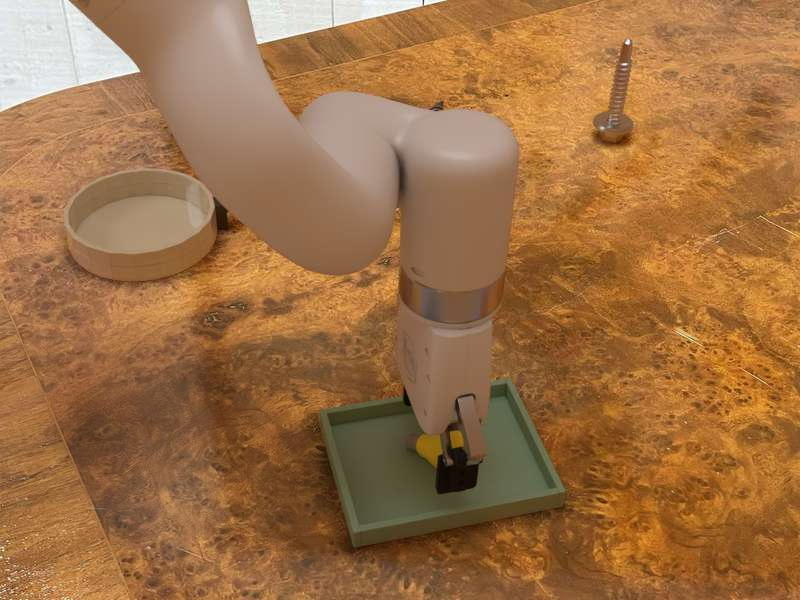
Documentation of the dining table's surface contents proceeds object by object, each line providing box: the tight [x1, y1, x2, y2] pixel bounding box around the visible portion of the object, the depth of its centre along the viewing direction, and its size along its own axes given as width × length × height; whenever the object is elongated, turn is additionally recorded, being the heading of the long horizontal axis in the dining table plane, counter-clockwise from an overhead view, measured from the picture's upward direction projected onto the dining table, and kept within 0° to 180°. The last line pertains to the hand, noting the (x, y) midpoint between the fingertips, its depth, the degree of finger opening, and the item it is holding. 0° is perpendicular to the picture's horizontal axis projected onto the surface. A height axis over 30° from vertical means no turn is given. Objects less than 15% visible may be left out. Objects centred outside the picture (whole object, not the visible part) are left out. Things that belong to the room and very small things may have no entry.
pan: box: [63, 167, 218, 282], centre depth 110 cm, size 15×15×4 cm
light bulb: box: [404, 430, 463, 469], centre depth 87 cm, size 3×6×4 cm, turn 59°
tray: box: [318, 377, 567, 549], centre depth 88 cm, size 17×13×2 cm
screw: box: [592, 37, 635, 144], centre depth 125 cm, size 13×5×5 cm
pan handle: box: [213, 196, 230, 231], centre depth 113 cm, size 10×2×3 cm, turn 105°
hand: (438, 443), depth 87 cm, fingers open, 9 cm apart
